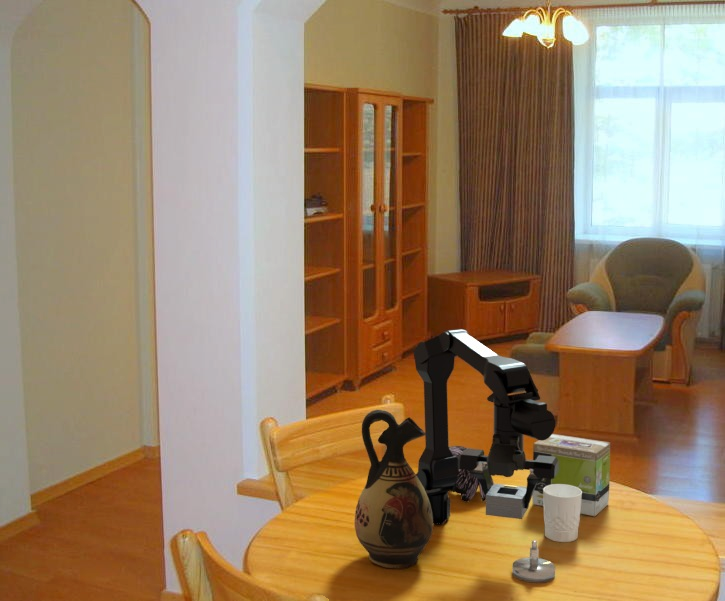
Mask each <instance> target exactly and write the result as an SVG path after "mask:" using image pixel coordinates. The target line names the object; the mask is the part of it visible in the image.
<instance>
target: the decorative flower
mask: <svg viewBox="0 0 725 601" xmlns="http://www.w3.org/2000/svg"><path fill="white" fill-rule="evenodd" d="M467 448H468V447H465V446H460V445H452V446H449V449H450V450H451V452H452V453H453V455H454V456H457V457H459V456H460V455H461V454H462V452H463V451H464V450H465V449H467ZM469 471H470V470H460V469H459V473H460V475H458V480H457V482H456V486H455V490H454V491H452V493H456V494H459V495H460V500H461V501H462V502H464V503H468V501H469V502H470V501H471V500H473V498H474V497H475V495H476V493H477V491H478V489H479V493H480V499H481V502H482V503H484V502H486V498H485V495H484V492H483V489H482V487H481V484H480V482H479V480H478V479H477V477H476V476H475V475H472V474H470V473H469ZM493 484H495V483H494V479H493V476H492V475H491V487H492V486H493Z"/></svg>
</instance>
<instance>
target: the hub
mask: <svg viewBox="0 0 725 601" xmlns="http://www.w3.org/2000/svg"><path fill="white" fill-rule="evenodd" d="M529 548H530V549H529V557H522V558H518V559H516V560H514V561H513V563H512V571H511V572H512V575H513V577H514V578H516V579H517V580H520V581H523V582H526V583H531V584H532V583H533V584H542V583H543V584H544V583H547V582H550V581H553V580H554V579H555V577H556V566H555V565H554V563H553V562H552V561H550V560H547V559H544V558H542V557H541V558H539V553H540V552H539V547H538V540H535V539H533V540H531V547H529Z"/></svg>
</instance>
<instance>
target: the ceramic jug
mask: <svg viewBox="0 0 725 601" xmlns="http://www.w3.org/2000/svg"><path fill="white" fill-rule="evenodd" d="M381 421H382V422H384V423H386V424H388V427H387V428H386V429H384V430H383V432H382V433H381V434H380V435H379V437H378V439H377V441H378V443H379V444H381V445H382V444H383V445H385V447H386V449H385V452H384V455H383V456H382V458H381V460H379V458H378V455H377V452H376V450H375V448H374V443H373V440H372V436H371V430H370V429H371V425H373V424H374V423H375V422H381ZM361 423H362V424H361V437H362V442H363V444H364V447H365V450H366V452H367V456H368V459H369V462H370V467H369V469H368V475H367V479H366V483H365V486H364V487H363V489H362V490H361V492H360V495H359V498H358V500H357V504H356V507H355V512H354V529H355V535H356V538H357V539H358V541H359V543H360V544H361V546H362V547H363V548H364V549H365V550H366V552H367V553H368V559H369V560H370V562H372V564H375V565H378V566H380V567H383V568H385V569H401V570H405V569H409V567H412V566H414V565H416V564H417V563H418V561H419V558H418V557H419V556H420V554H421V552H423V550H424V549H425V547H426V546H427V545H428V544H429V542H430V539H431V538H432V534H433V530H434V529H433V528H434V524H433V515H432V509H431V505H430V502H429V499H428V496H427V494H426V491H425V489H424V487H423V486H422V484H421V482H420V481H419V479H418V477H417V476H416V474H417V473H415V471H414V470H413V468H412V466H410V464H409V463H408V462H407V459H406V458H405V454H404V446H405V445H406V444H408V443H410V442H412V441H414V440H416V439H419V438H422V437H424V436H425V434H426V433H425V430H423V428H422V427H420V426H419V425H418V424H417V422H415V421H414V419H412V418H411V417H410V416H408V417H406V419H404V420H403V421H402V422H401V423H400V424H398V422H397V419H396V417H395V416H394V415H393V414H392V413H391V412H389V411H386V410H382V409H375V410H372V411H370V412H368V413H367V414H366V415H365V417H364V418H363V420H362V422H361ZM346 562H348V561H347V560H346Z"/></svg>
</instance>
